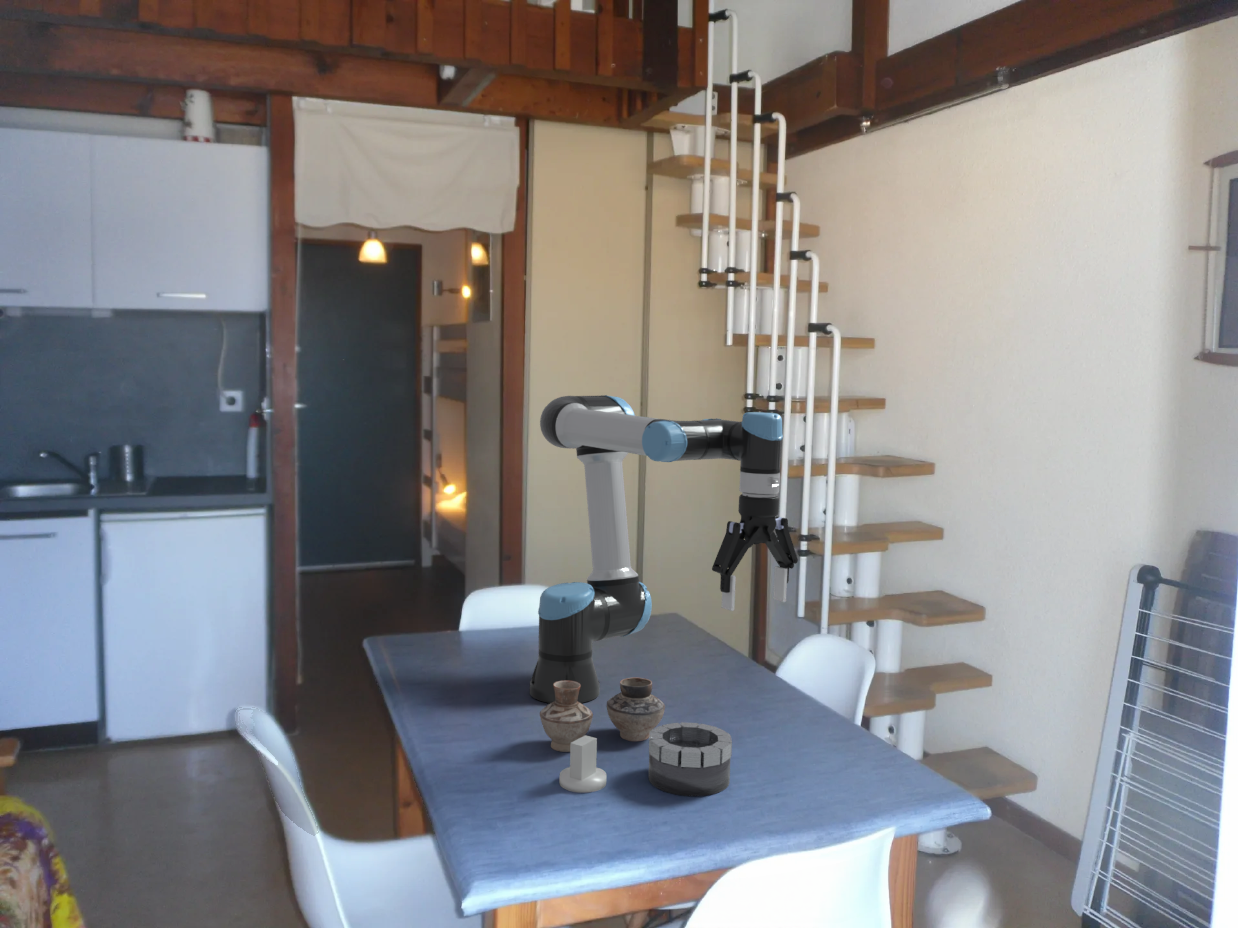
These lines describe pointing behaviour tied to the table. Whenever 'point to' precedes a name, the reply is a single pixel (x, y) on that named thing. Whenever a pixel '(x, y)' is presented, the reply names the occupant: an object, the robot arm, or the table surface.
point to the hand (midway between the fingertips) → (754, 604)
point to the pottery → (626, 710)
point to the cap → (583, 768)
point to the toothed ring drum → (689, 759)
